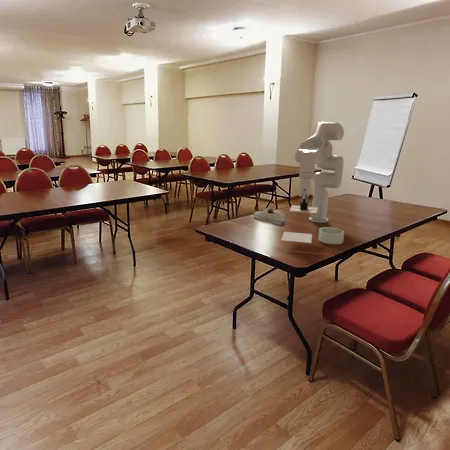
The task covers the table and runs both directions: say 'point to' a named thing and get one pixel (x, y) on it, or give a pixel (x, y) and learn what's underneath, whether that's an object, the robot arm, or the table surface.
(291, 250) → the table surface
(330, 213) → the table surface
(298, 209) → the lid
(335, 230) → the bowl
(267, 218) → the boat shoe
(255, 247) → the table surface
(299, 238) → the mat
